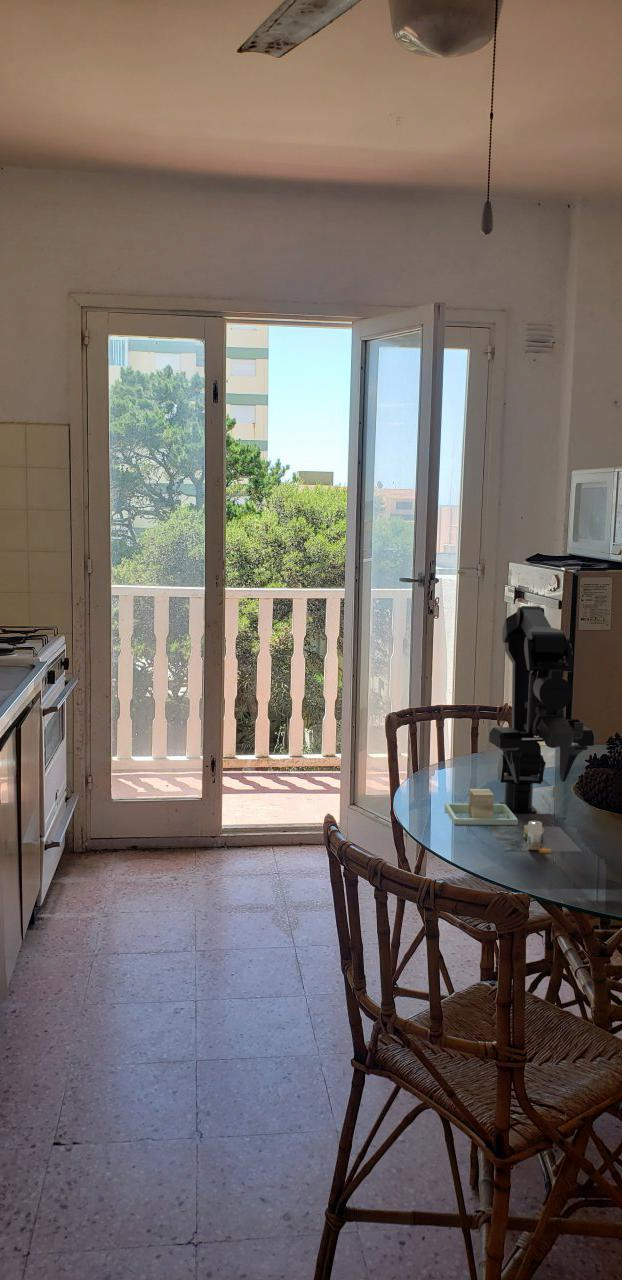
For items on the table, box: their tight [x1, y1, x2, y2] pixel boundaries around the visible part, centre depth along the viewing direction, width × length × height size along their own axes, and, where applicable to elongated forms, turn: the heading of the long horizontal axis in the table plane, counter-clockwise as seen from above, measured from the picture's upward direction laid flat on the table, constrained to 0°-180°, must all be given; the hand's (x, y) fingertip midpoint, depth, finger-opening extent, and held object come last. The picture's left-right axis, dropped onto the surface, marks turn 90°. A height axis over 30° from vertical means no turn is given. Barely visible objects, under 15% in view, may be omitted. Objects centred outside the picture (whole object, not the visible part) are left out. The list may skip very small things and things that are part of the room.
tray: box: [444, 803, 519, 826], centre depth 196 cm, size 10×12×2 cm
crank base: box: [487, 826, 583, 854], centre depth 183 cm, size 15×14×2 cm
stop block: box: [468, 788, 495, 818], centre depth 196 cm, size 4×4×6 cm
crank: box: [523, 820, 545, 850], centre depth 180 cm, size 10×4×5 cm, turn 168°
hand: (539, 782), depth 183 cm, fingers open, 9 cm apart
